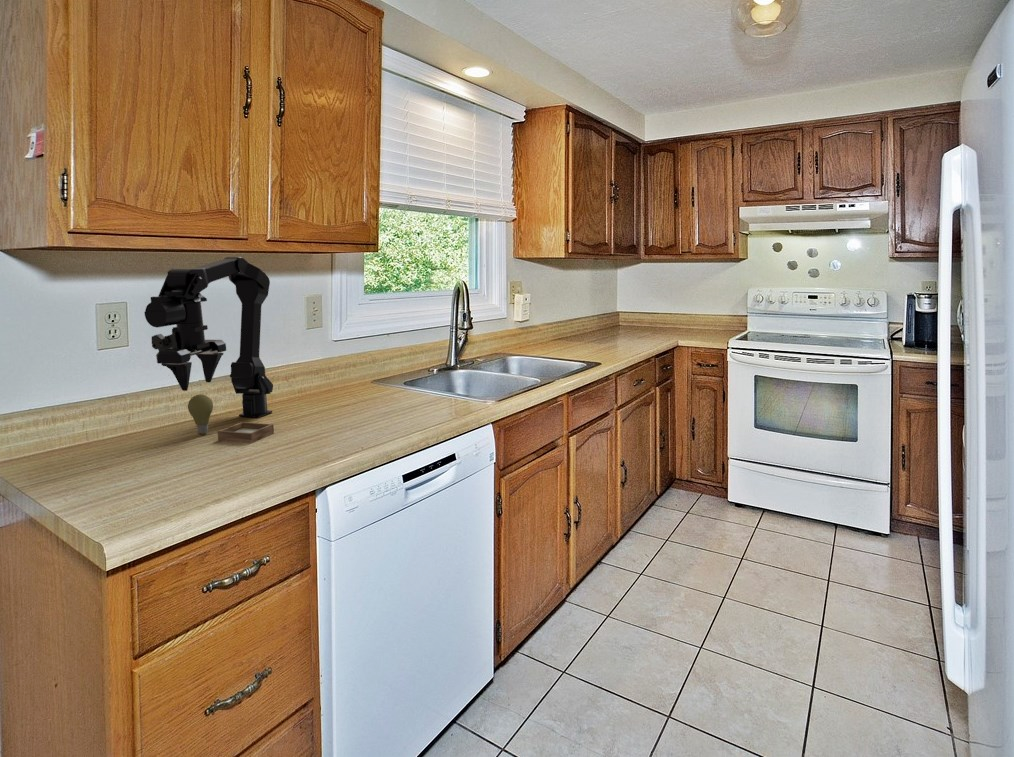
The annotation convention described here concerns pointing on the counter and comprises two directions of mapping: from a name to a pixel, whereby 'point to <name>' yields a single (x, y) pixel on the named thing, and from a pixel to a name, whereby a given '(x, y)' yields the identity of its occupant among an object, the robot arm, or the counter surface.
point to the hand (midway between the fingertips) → (196, 386)
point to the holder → (245, 432)
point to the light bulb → (201, 411)
